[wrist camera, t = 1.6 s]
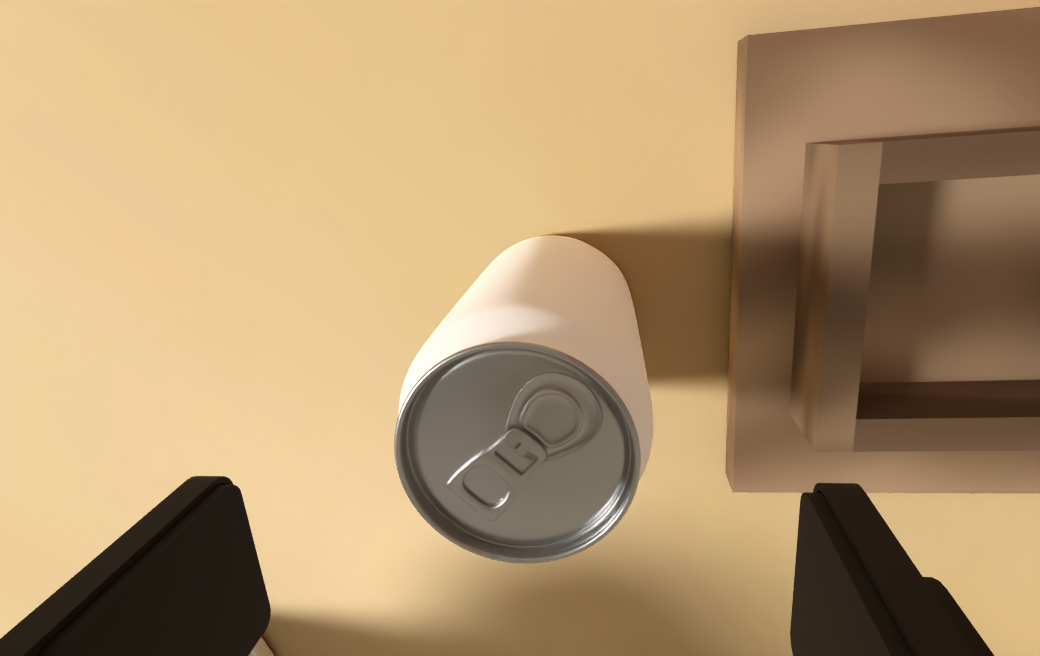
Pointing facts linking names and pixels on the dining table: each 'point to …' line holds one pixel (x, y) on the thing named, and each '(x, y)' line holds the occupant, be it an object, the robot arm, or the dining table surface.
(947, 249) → the caddy
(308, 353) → the dining table surface
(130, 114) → the dining table surface
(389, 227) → the dining table surface
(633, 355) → the can
